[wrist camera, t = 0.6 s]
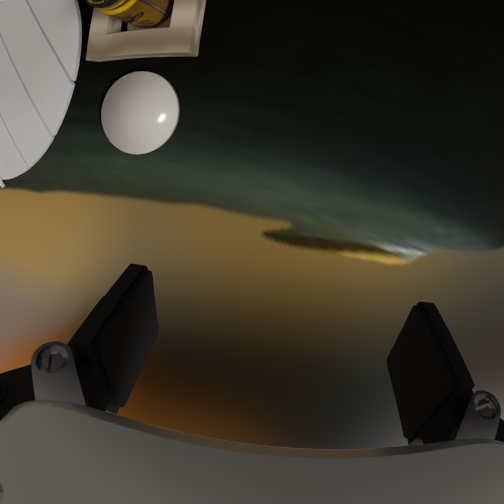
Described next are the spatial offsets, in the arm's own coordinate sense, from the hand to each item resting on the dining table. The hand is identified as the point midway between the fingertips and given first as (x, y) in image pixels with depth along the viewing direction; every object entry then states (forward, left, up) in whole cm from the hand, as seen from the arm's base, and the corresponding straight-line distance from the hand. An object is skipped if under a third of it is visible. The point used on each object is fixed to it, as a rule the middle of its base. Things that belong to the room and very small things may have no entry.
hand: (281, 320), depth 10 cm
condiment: (-20, -19, -29) cm, 40 cm away
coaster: (-4, -19, -29) cm, 35 cm away
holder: (-20, -19, -29) cm, 40 cm away
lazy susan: (-13, -50, -30) cm, 59 cm away
